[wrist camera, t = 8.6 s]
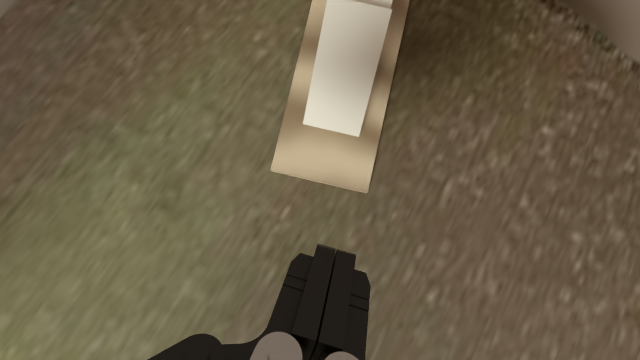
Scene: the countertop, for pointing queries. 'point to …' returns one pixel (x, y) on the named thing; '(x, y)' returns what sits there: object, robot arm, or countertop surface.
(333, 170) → the domino board
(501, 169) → the countertop surface
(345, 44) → the tile
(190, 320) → the countertop surface
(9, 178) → the countertop surface
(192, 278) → the countertop surface
